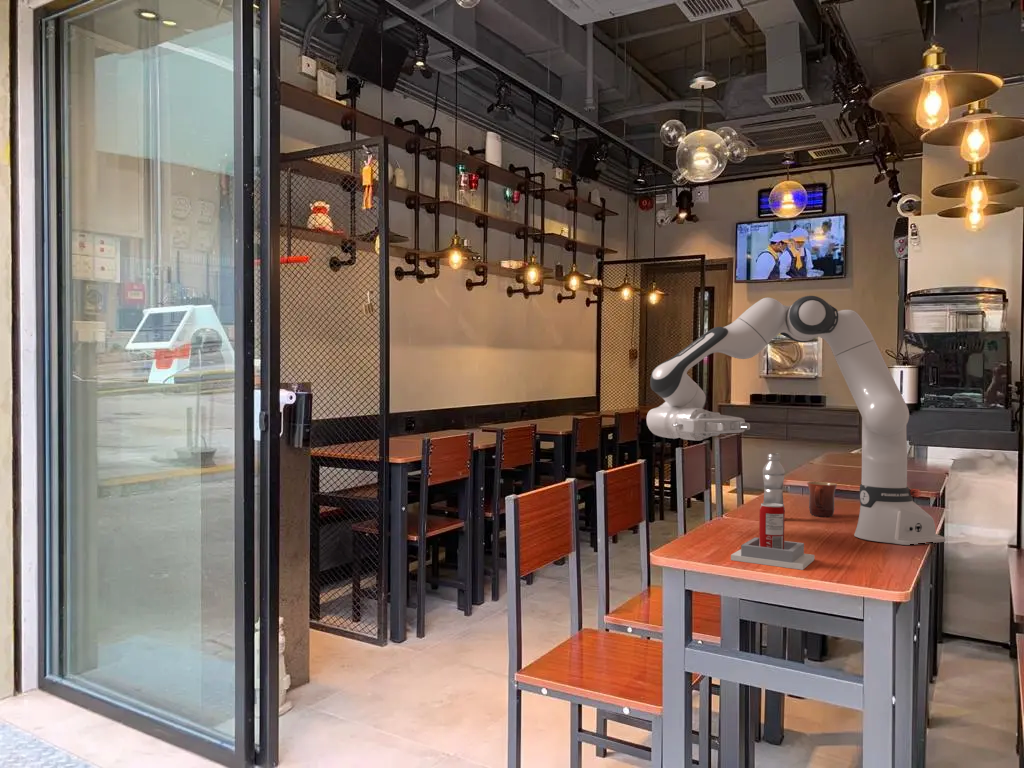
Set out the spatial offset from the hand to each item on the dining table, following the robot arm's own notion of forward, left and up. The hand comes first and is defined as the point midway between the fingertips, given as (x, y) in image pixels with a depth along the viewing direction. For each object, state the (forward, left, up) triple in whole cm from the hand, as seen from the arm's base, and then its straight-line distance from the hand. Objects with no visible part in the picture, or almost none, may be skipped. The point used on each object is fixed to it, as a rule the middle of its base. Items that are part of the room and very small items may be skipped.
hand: (736, 426), depth 198 cm
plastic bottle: (-30, -33, -30) cm, 54 cm away
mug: (-48, -36, -30) cm, 67 cm away
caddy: (0, +19, -30) cm, 36 cm away
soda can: (+1, +19, -29) cm, 35 cm away
